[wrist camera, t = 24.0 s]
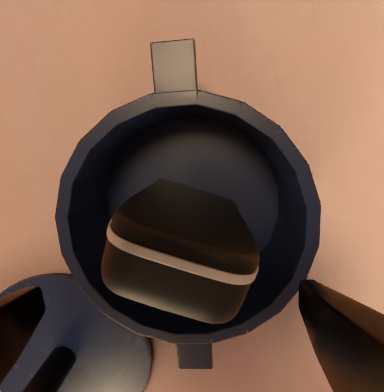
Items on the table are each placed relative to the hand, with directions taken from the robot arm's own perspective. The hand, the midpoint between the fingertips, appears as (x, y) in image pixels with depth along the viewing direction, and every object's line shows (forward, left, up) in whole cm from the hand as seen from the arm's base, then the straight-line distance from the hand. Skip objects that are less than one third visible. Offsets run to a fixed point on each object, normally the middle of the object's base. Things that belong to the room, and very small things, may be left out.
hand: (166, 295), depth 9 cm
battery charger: (0, 0, -13) cm, 13 cm away
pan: (0, 0, -13) cm, 13 cm away
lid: (+13, +14, -12) cm, 23 cm away
